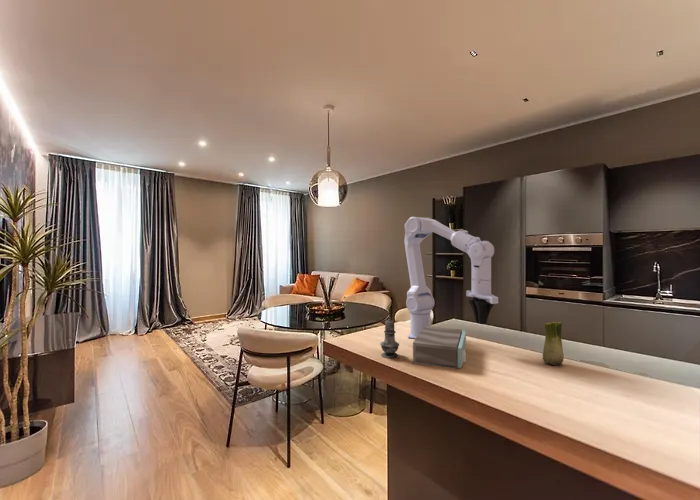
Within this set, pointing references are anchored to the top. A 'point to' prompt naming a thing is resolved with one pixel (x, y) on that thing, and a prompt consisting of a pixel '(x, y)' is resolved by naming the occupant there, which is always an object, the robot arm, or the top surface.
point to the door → (461, 350)
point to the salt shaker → (389, 341)
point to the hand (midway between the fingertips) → (481, 322)
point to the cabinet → (437, 347)
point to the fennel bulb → (553, 344)
